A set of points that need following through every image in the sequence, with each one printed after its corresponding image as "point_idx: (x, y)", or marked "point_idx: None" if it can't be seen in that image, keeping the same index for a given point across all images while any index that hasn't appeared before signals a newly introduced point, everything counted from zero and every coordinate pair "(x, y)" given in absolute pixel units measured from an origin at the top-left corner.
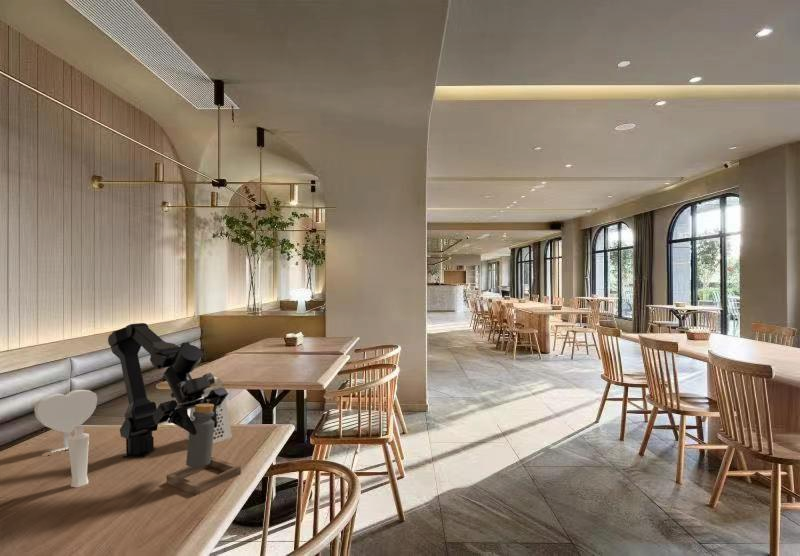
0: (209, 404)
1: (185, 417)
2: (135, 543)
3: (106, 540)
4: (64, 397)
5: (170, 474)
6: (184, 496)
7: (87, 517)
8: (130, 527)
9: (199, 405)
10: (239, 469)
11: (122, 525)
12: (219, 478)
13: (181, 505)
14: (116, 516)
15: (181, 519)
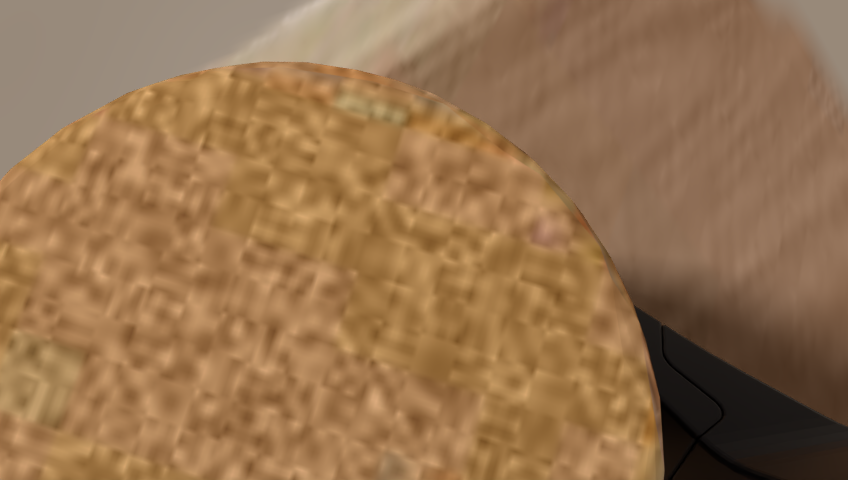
0: (30, 435)
1: (746, 399)
2: (756, 23)
3: (816, 127)
4: None
5: None
6: None
7: (839, 375)
8: (743, 142)
9: (501, 441)
10: None
11: (759, 183)
12: None
13: (558, 136)
14: (760, 279)
15: (601, 31)
